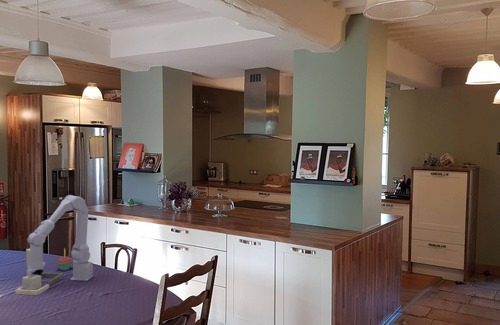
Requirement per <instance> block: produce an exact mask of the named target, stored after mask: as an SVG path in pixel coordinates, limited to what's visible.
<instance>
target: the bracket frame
mask: <svg viewBox="0 0 500 325" xmlns="http://www.w3.org/2000/svg"><path fill="white" fill-rule="evenodd" d="M49 289H50V287H49V284H47V283H46V284H45V285H42V287H41V288H40V289H38V290H23V288H22V286H20V287H18V288H17V289H15V290H14V292H15V293H14V295H21V294H22V296H23V295H24V296H27V295H28V296H40V295H41V294H42V293H44V292H46V291H47V290H49Z"/></svg>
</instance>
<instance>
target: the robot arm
mask: <svg viewBox="0 0 500 325" xmlns="http://www.w3.org/2000/svg"><path fill="white" fill-rule="evenodd" d="M70 211H74V212H75V213H76V227H75V229H76V230H75V243H74V244H73V246H72V249H71V252H70V257H71V258H72V259H73V262H72V277H71V278H70V279H69V280H70V281H87V282H88V281H89V280H91V279H92V278H93V277H94V265H93V262H92V261H89V260H90V258H91V252H90V247H89V245H88V244H87V242H88V241H87V240H88V238H87V237H88V221H89V220H88V219H89V208H88V206H87V204H86V200H85V199H84V198H83V197H81V196H76V195H72V194H68V195H66V196H65V197H64V199H63V200H61V201H60V204H59V206H58V207H57V208H56V210H55V211H54V212H53V213H52V214H51V215H50V217H49V218H48V219H45V220H43V221H42V220H41V222H40V225H39V226H38V227H37V228H36V229H34V232H32V233H30V234H29V235H28V237H27V238H26V240H27V242H28V244H29V249H30V266H28V268H29V269H28V270H27V269H26V276H27V275H31V274H36V275H42V273H44V269H43V270H40V269H42V268H44V267H46V266H47V264H46V263H47V262H46V261H45V262H44V251H43V250H44V247H43V246H44V243H45V242H46V238H47V236H48V235H49V234H50V233H51V232H52V231H53V230H54V228H55V223H56V222H58V220H59V219H60V218H61V217H62V216H64V214H65V213H67V212H70Z"/></svg>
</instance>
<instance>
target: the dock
mask: <svg viewBox="0 0 500 325" xmlns="http://www.w3.org/2000/svg"><path fill="white" fill-rule="evenodd" d="M42 279H50V280H47V281H46V284H49V288H50V287H51V286H53V285H54V284H56V283H58V282H60V281H61V280H62V279H63V280H64V272H62V273H61V272H43V273H42V275H41V280H42Z"/></svg>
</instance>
